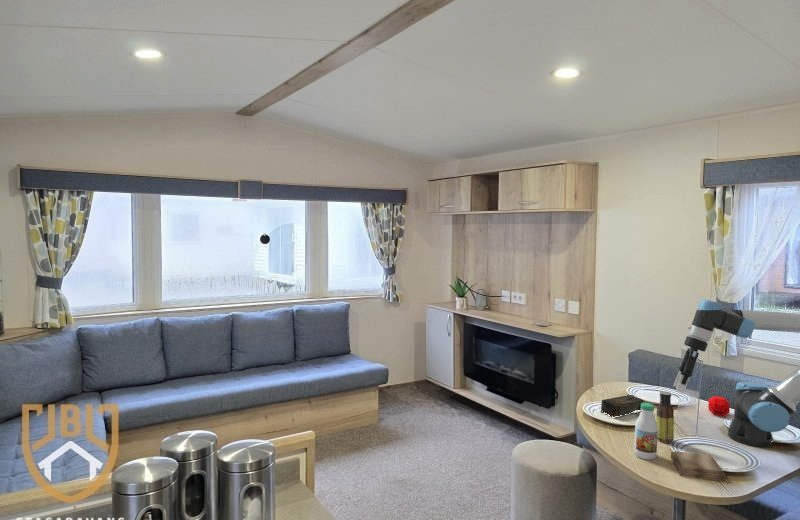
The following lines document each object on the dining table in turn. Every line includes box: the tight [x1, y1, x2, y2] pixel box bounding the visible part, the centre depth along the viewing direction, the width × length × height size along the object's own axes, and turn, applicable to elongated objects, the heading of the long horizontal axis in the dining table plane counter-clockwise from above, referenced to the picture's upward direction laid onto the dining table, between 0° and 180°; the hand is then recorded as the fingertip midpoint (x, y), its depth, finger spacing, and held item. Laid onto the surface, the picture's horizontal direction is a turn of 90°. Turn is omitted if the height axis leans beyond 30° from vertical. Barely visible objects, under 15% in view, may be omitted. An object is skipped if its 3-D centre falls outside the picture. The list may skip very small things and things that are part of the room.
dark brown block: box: [600, 394, 645, 417], centre depth 236 cm, size 8×19×7 cm, turn 115°
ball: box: [707, 395, 731, 417], centre depth 234 cm, size 8×8×8 cm
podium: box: [670, 450, 727, 482], centre depth 185 cm, size 14×14×3 cm
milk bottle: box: [633, 402, 658, 461], centre depth 194 cm, size 8×8×20 cm
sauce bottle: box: [656, 390, 675, 444], centre depth 207 cm, size 7×6×20 cm
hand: (678, 389), depth 200 cm, fingers open, 13 cm apart
